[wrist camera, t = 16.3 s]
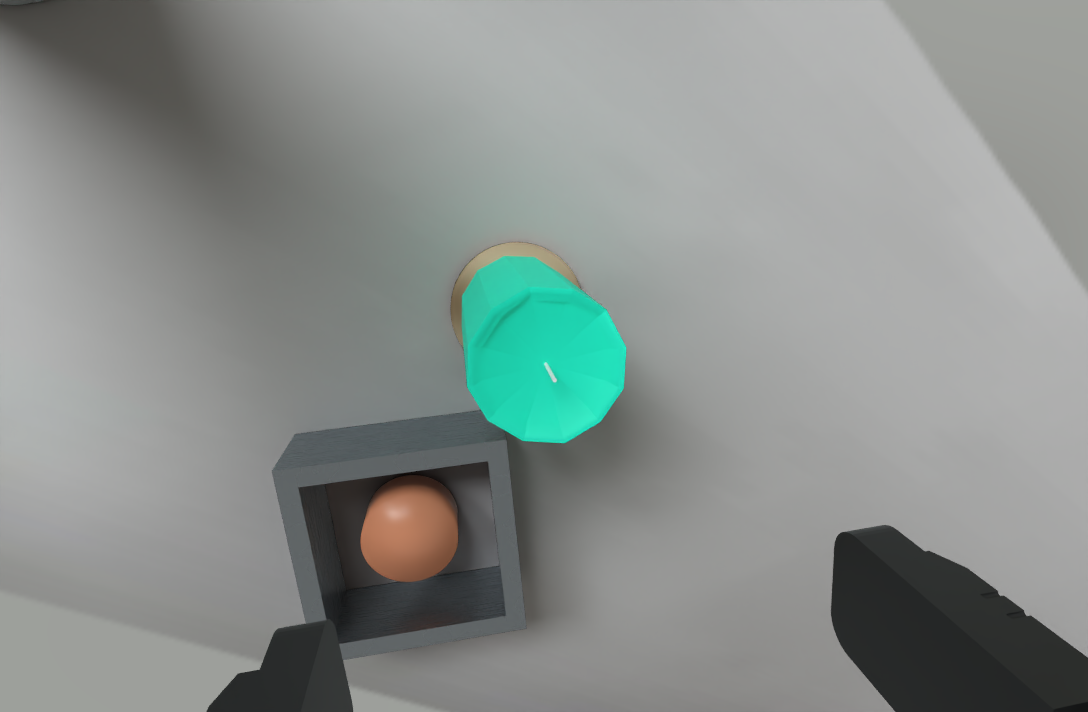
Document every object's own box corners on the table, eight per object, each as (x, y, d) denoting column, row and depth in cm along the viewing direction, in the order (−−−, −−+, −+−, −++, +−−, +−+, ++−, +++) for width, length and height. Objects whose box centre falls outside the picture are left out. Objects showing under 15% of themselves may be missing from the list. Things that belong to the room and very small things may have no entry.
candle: (583, 351, 33) (652, 436, 22) (475, 378, 33) (489, 480, 22) (560, 242, 32) (624, 274, 20) (446, 269, 31) (445, 317, 20)
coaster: (442, 248, 32) (442, 250, 31) (576, 236, 32) (578, 236, 32) (459, 378, 33) (459, 381, 33) (584, 362, 34) (587, 366, 34)
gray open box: (295, 434, 33) (271, 471, 29) (499, 407, 34) (506, 439, 30) (331, 607, 36) (315, 664, 32) (517, 577, 37) (526, 628, 33)
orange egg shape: (359, 482, 34) (352, 504, 31) (451, 469, 34) (451, 490, 32) (374, 561, 35) (368, 588, 33) (462, 547, 36) (463, 573, 33)
